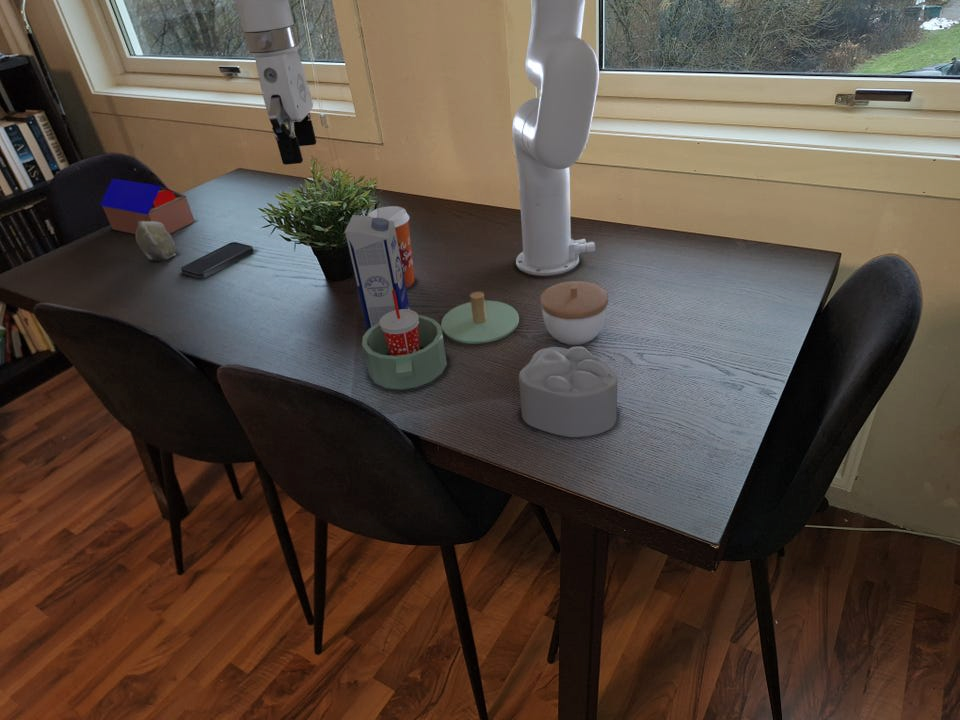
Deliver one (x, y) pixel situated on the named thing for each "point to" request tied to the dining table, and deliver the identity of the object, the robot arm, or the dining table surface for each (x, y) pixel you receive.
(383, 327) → the beverage cup
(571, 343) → the trinket box
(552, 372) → the lumpy-topped squat cylinder
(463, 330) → the lid
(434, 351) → the pot
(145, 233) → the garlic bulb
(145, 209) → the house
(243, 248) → the phone
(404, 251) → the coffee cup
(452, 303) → the dining table surface
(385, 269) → the milk carton
